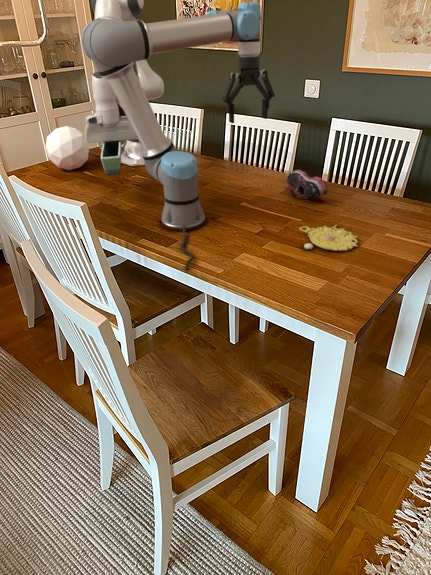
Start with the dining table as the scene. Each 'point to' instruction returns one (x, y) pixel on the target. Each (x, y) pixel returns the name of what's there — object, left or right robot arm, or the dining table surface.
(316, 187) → the athletic shoe
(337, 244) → the decorative object
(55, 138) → the sphere
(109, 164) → the planter
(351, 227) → the dining table surface
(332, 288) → the dining table surface
